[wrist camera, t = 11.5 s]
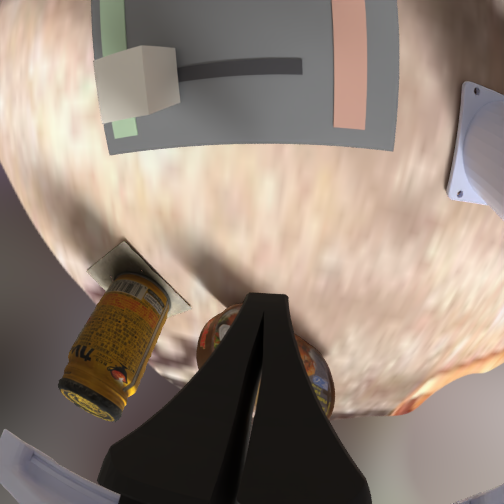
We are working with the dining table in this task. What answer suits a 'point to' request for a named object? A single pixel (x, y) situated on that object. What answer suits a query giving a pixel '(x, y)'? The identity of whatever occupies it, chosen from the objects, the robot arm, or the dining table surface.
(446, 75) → the dining table surface
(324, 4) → the grey board
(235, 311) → the tin
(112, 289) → the condiment
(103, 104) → the handle
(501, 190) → the robot arm
